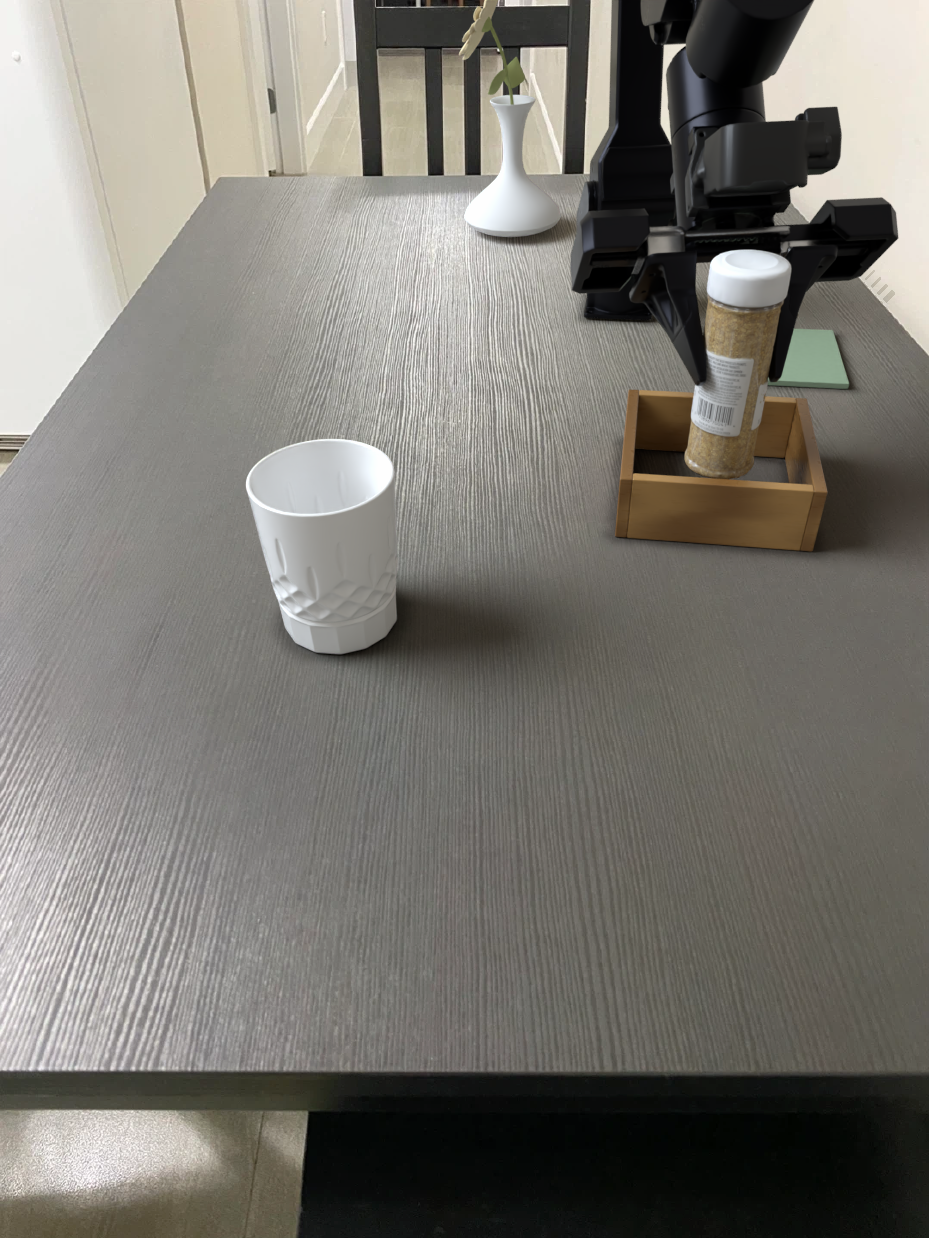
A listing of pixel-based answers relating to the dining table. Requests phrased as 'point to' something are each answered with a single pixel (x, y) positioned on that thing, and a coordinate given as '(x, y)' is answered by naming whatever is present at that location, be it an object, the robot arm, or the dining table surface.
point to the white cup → (329, 541)
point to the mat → (813, 361)
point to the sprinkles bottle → (736, 360)
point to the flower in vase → (508, 153)
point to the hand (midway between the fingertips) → (738, 382)
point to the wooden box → (721, 480)
